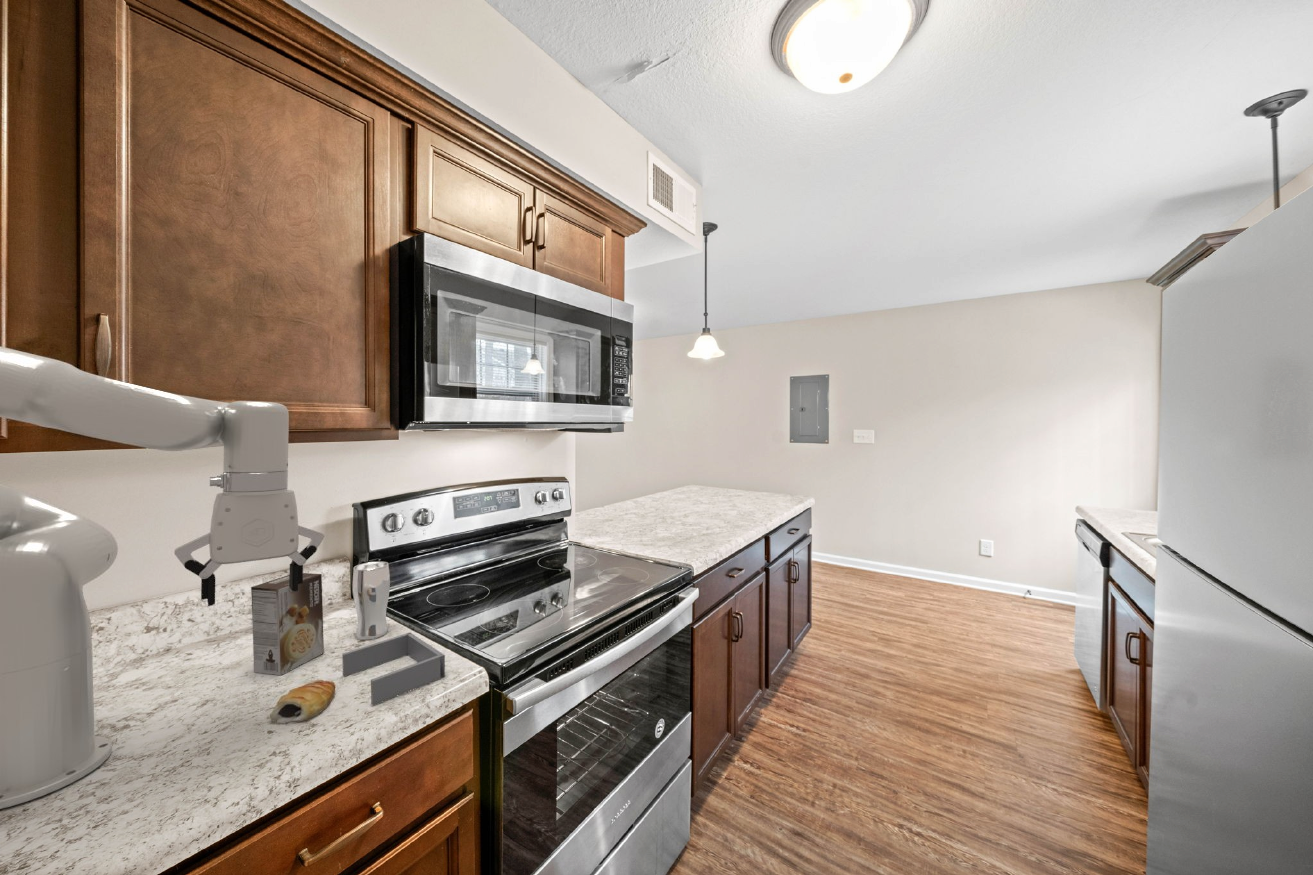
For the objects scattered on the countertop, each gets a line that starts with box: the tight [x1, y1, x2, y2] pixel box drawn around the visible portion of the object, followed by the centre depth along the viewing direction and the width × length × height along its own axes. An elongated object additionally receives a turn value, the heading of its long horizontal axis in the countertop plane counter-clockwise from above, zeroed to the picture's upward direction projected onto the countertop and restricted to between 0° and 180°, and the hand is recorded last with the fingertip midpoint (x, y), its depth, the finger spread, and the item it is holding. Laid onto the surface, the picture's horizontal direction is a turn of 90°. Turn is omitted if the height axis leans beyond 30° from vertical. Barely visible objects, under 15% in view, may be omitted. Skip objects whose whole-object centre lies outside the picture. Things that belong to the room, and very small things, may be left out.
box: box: [341, 632, 446, 706], centre depth 87 cm, size 12×15×4 cm
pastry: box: [269, 679, 337, 724], centre depth 78 cm, size 9×7×4 cm
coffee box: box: [250, 572, 325, 676], centre depth 92 cm, size 9×6×16 cm
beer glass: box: [352, 560, 391, 641], centre depth 105 cm, size 7×7×15 cm
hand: (254, 595), depth 73 cm, fingers open, 9 cm apart
